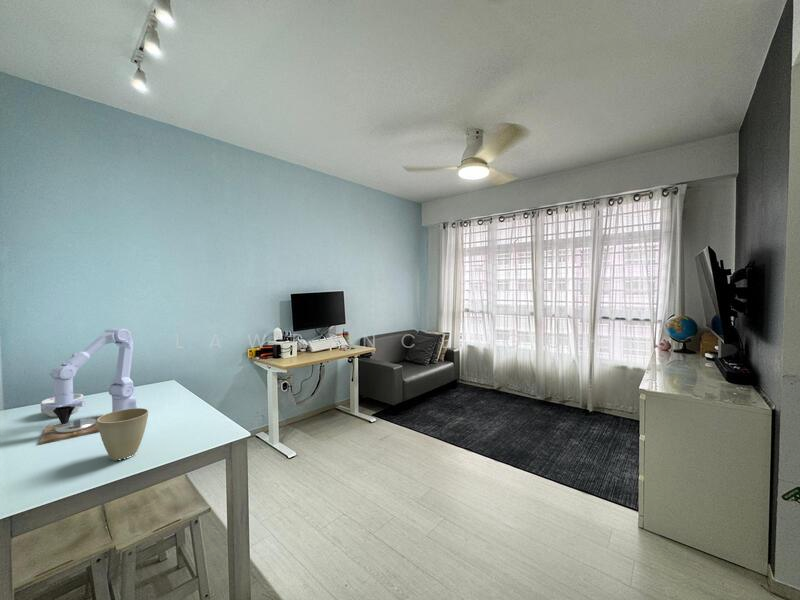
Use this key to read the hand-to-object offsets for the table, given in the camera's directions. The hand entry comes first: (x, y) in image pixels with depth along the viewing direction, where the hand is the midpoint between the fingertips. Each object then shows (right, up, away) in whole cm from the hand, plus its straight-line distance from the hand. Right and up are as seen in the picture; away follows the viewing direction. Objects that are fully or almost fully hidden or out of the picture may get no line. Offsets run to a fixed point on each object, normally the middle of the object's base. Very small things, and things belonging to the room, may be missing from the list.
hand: (64, 423), depth 143 cm
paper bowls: (-24, -4, +22) cm, 33 cm away
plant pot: (+42, -6, -19) cm, 47 cm away
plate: (+2, -4, +4) cm, 6 cm away
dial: (+2, -3, +4) cm, 5 cm away
